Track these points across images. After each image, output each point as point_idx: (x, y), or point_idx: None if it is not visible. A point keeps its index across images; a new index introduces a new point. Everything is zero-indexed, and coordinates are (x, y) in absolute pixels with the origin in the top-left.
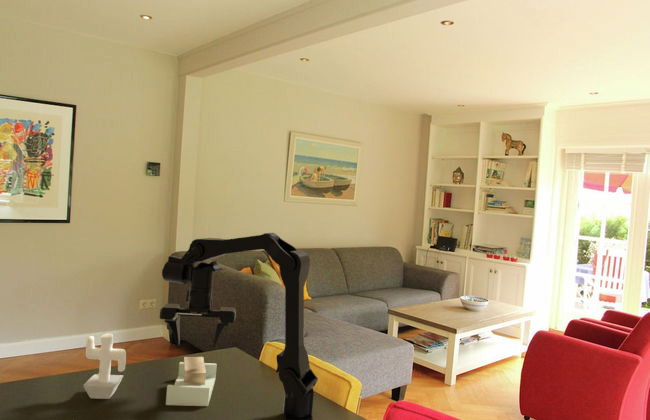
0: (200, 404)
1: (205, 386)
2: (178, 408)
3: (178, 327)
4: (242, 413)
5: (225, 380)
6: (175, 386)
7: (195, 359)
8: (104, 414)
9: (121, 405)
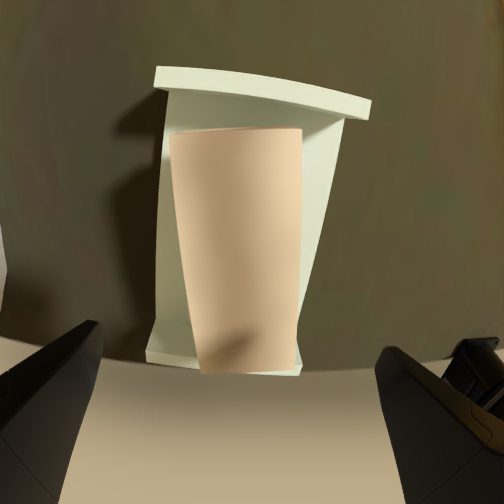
0: None
1: None
2: None
3: (38, 462)
4: (371, 364)
5: (381, 117)
6: (175, 363)
7: (246, 184)
8: (39, 346)
9: (48, 309)
